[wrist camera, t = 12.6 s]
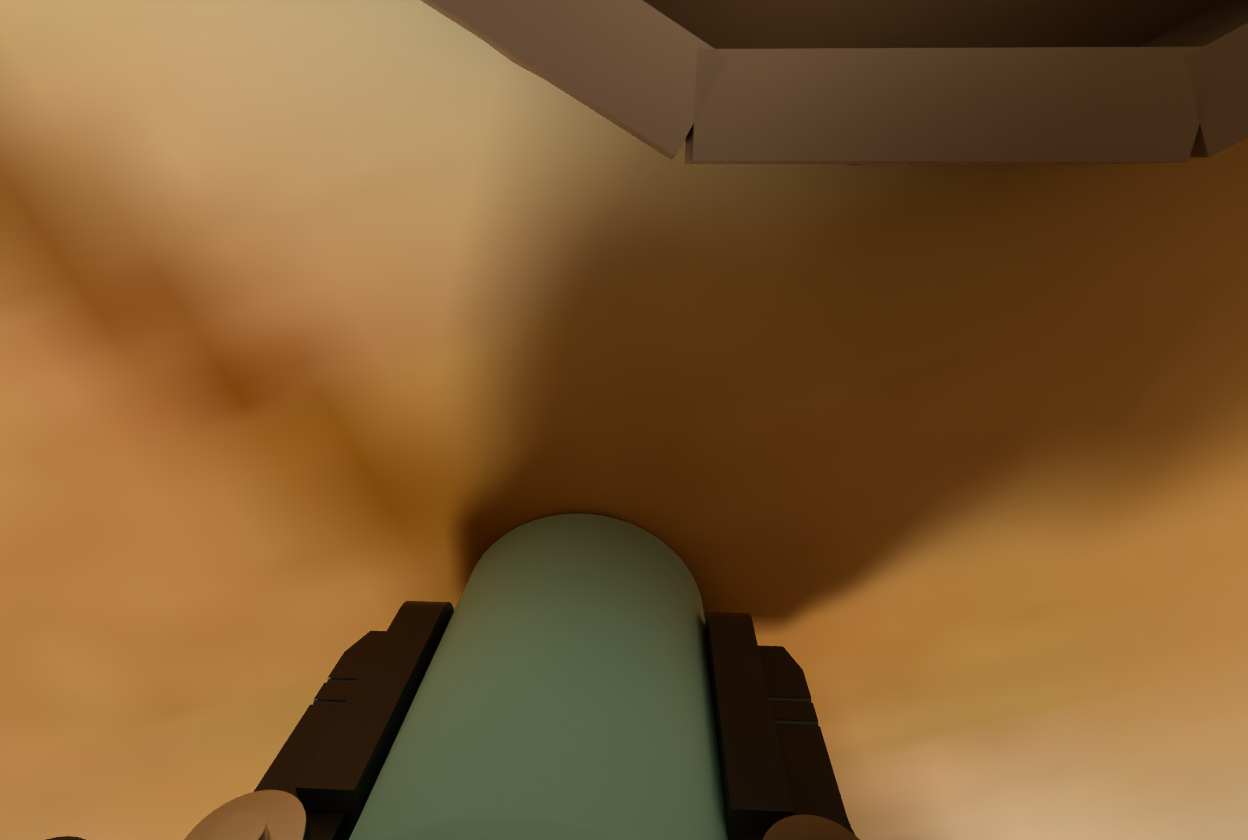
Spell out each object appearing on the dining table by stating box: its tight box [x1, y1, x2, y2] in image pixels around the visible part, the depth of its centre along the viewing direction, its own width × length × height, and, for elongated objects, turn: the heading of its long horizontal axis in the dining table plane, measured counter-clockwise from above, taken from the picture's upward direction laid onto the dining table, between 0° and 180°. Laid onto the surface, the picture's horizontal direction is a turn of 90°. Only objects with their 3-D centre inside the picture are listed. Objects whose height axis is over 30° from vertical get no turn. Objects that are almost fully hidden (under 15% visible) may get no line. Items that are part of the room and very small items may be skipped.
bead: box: [349, 513, 728, 840], centre depth 9 cm, size 4×4×6 cm
